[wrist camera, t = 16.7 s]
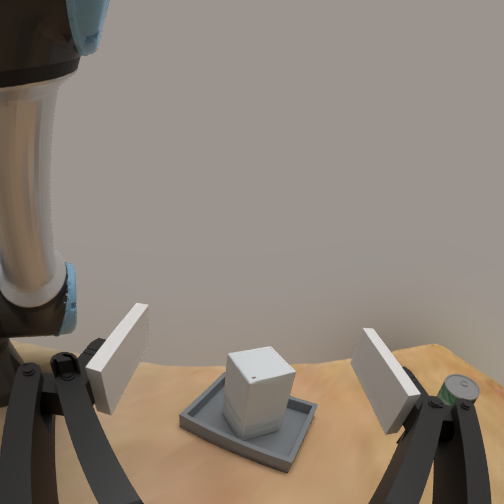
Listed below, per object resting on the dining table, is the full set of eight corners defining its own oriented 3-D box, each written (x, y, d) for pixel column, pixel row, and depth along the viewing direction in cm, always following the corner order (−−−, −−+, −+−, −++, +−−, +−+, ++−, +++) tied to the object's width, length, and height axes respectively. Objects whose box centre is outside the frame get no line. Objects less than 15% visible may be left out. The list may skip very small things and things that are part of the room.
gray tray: (180, 426, 37) (179, 414, 36) (223, 383, 49) (224, 371, 49) (287, 472, 30) (291, 462, 29) (313, 415, 43) (317, 404, 42)
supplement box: (281, 430, 38) (298, 372, 35) (238, 442, 35) (248, 383, 32) (260, 402, 44) (271, 344, 41) (220, 411, 41) (226, 351, 38)
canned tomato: (442, 449, 30) (474, 405, 28) (412, 430, 37) (439, 386, 34) (457, 428, 35) (483, 385, 32) (429, 411, 41) (452, 369, 39)
